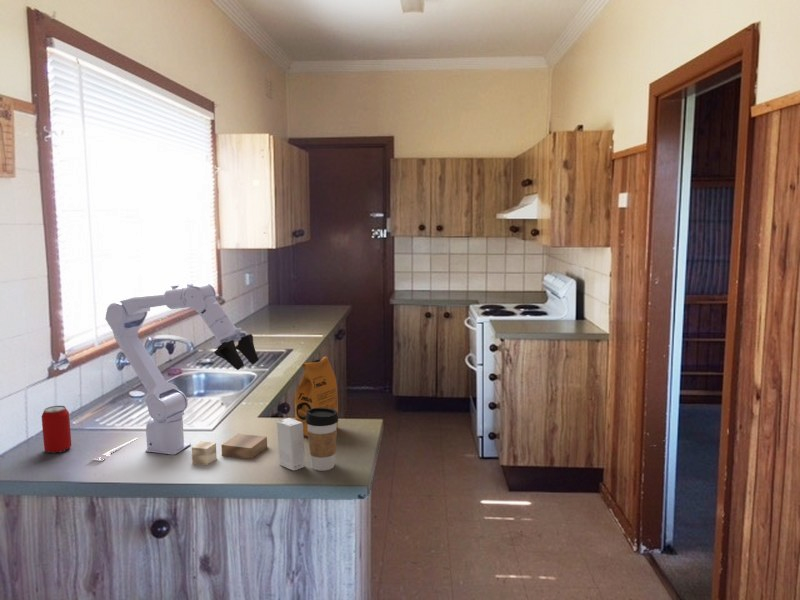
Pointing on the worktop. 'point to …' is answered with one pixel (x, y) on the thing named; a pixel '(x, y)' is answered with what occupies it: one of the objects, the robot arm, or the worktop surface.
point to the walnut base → (244, 446)
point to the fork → (113, 450)
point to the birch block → (204, 453)
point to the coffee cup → (322, 437)
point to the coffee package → (316, 390)
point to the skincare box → (291, 444)
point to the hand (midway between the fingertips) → (248, 365)
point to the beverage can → (56, 429)
